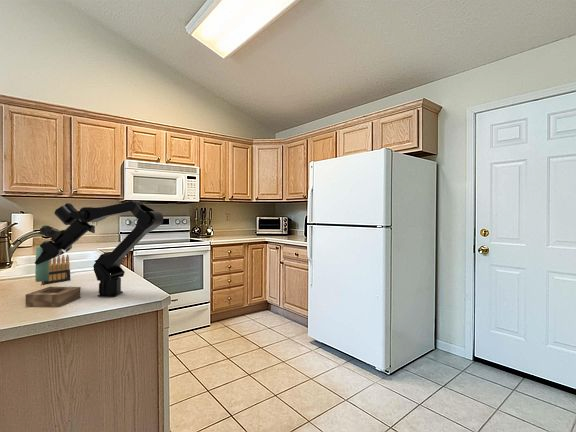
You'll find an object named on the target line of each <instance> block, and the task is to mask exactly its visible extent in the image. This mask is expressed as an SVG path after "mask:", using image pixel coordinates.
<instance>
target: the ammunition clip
mask: <svg viewBox="0 0 576 432" xmlns="http://www.w3.org/2000/svg"><path fill="white" fill-rule="evenodd" d="M70 266H71V265H70V256H69V254H68V253H67V254H66V257H65V255H64V254H62V255H59V256H57V257H55V258H52V259H50V260H49V280H48V281H43V282H40V283H41V285H44V286H45V285H46V286H47V285H51V284H56V283H57V284H58V283H65V282H70V281H71V269H70Z"/></svg>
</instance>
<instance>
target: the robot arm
mask: <svg viewBox="0 0 576 432" xmlns="http://www.w3.org/2000/svg"><path fill="white" fill-rule="evenodd" d="M53 213H54V216H56V217H57V219H59V220H60V221H61V222H62V223H63V224H64V225H65V226H67V228H65V229H61V230H60V229H58V228H54V227H53V226H50V225H48V224H47V225H45V224H44V225H42V227H41V228H39V232H38V235H41V236H46V237H48V238H50V240H45V241H43V242H42V243H40V245H39V247H41V248H43V252H42V253H41V255H40V256H39V257H38V259H37V260H36V259H35V261H34V264H35V266H36V265H38V264H40V263H43V262H45V261H48V260H50V259H51V260H53V258H55V257H56V258H58V256H63V255H64V254H65V253H67V252H69V251H71V250H72V249H73V245H74V244H75V243H76V242H78V241H79V240H80V238H82V237H83V236H84V235H85V234H86V233H87V232H89V233H92V234H95V233H96V226H95V225H93V224H90V223H98V222H101V221H104V220H105V219H107V218H108V217H109V218H110V217H114V216H118V215H123V214H128V213H131V214H133V216H134V217H135V218H136V219H137V220H136V224H135V227H134V228H133V229H132V230H131V231H130V232H129V233H128V234H127V235H126V237H125V238H123V240H122V241H121V242H120V243H119V244H118V245H117V246H116V247H115V248H114V249H113V250H112V251H111V252H105V253H101V254H100V255H99V257H98V258H96V260H94V263H93V265H92V266H93V273H94V274H95V278H96V280H97V281H98V282H99V283H98V295H97V297H98V298H99V297H101V298H102V297H105V298H106V297H107V298H108V297H110V298H111V297H112V298H113V297H114V298H115V297H117V296H119V295H122V294H123V293H124V291H122V278H123V277H124V275H125V272H126V271H124V269H123V268H122V267H121V265H122V262H123V260H124V258H125V257H126V256H127V254H129V253H130V252H131V251H132V250H133V249H134V248H135V246H136V245H138V244H139V243H140V241H141V240H142V239H143V238H144V237H145V236H146V235H147V234H148V233H150V232H153V231H155V229H157V228H158V227H160V226H162V224H163V223H164V221H165V220H164V216H163V215H164V214H163V213H161V212H160V211H157V210H155V209H153V208H151V207H149V206H147V205H146V204H144V203H142V202H141V201H139V200H129V201H126V202H120V203H115V204H111V205H106V206H96V207H95V206H89V207H88V206H84V207H83V206H82V207H81V208H79V210H77V209H76V208H75V207H74V205H73V204H72V203H69V202H66V203H65V204H64V205H61V206H59V207H58V208H56V209H55V210H54V212H53ZM64 251H65V252H64Z"/></svg>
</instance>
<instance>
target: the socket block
mask: <svg viewBox="0 0 576 432" xmlns="http://www.w3.org/2000/svg"><path fill="white" fill-rule="evenodd" d="M80 298H81V286H47V287H45V288H41V289H39V290H36V291H32V292H28V293H26V294H25V307H29V308H30V307H34V308H35V307H36V308H37V307H38V308H39V307H41V308H42V307H44V308H54V307H56V308H60V307H62V306H65V305H67V304H69V302H70V303H72V302H75V301H77V300H79V299H80ZM76 299H77V300H76Z"/></svg>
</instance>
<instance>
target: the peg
mask: <svg viewBox="0 0 576 432" xmlns="http://www.w3.org/2000/svg"><path fill="white" fill-rule="evenodd" d="M42 252H43V248H41V247H40V246H35V261H36V260H37V259H38V257H39V256H40V255H41V253H42ZM34 271H35V273H34V274H35V282H38V283H39V282H40V283H41V282H43V281H48V280H49V260H48V261H45V262H43V263H40V264H38V265H36V264H35V270H34Z"/></svg>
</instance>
